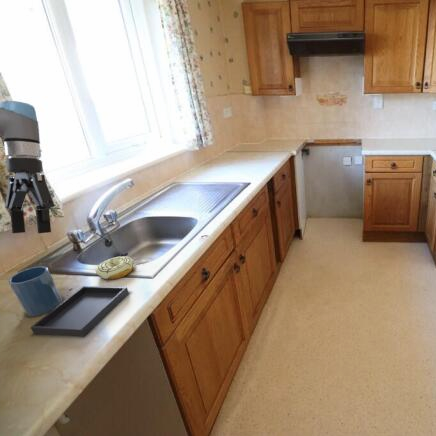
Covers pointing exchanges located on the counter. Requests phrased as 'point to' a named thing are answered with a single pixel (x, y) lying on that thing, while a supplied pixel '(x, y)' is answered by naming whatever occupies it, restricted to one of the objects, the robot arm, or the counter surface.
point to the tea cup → (36, 290)
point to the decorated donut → (115, 267)
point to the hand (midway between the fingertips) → (31, 232)
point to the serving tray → (80, 311)
